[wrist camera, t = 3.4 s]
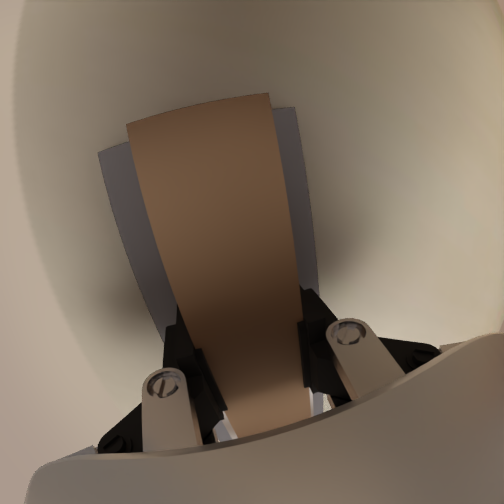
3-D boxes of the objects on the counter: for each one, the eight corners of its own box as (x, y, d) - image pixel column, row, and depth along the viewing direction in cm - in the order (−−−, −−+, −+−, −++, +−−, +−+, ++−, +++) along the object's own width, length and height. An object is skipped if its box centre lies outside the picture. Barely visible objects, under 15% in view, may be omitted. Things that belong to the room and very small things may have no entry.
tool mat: (102, 152, 8) (97, 152, 8) (289, 108, 9) (294, 106, 9) (221, 440, 15) (222, 446, 15) (320, 412, 16) (323, 417, 16)
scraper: (124, 143, 8) (83, 140, 5) (269, 109, 8) (311, 89, 5) (238, 443, 15) (248, 487, 12) (310, 423, 15) (329, 464, 12)
